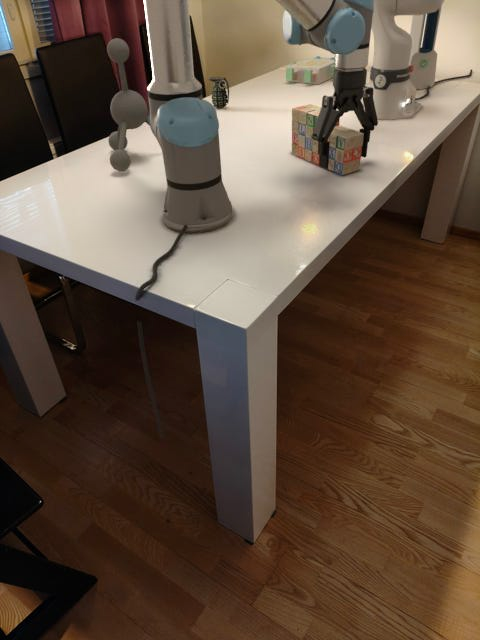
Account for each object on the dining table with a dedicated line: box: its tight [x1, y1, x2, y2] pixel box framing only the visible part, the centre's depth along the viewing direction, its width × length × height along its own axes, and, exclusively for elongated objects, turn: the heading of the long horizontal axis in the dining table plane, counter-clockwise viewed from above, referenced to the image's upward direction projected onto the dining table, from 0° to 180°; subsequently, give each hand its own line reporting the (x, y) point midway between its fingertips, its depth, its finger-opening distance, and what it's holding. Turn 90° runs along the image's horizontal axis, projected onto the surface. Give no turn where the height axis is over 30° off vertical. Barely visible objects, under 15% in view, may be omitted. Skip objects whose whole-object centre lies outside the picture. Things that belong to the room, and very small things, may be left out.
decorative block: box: [285, 55, 336, 85], centre depth 205 cm, size 26×6×20 cm
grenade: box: [208, 76, 230, 110], centre depth 174 cm, size 7×6×10 cm
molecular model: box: [106, 37, 150, 172], centre depth 131 cm, size 24×22×30 cm
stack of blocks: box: [291, 103, 364, 176], centre depth 127 cm, size 21×6×12 cm, turn 32°
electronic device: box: [409, 4, 443, 90], centre depth 178 cm, size 12×8×30 cm, turn 105°
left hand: (342, 161), depth 124 cm, fingers open, 12 cm apart
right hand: (348, 2), depth 124 cm, fingers open, 8 cm apart
